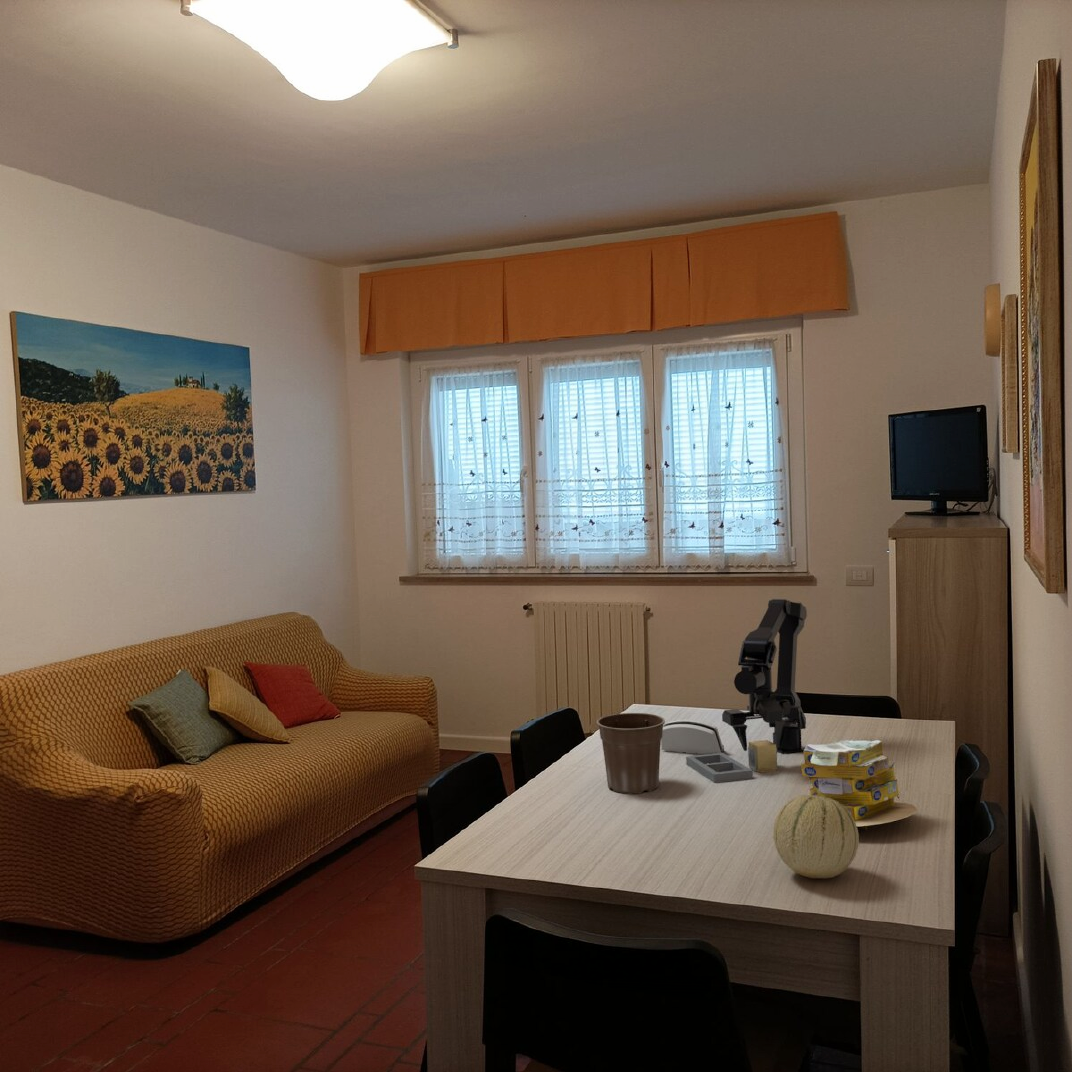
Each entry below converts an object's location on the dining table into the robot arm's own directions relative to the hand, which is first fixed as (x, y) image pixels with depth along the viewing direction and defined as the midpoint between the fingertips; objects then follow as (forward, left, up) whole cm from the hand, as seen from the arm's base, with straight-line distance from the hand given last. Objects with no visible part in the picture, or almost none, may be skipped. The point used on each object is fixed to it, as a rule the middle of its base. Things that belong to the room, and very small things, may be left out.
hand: (762, 748), depth 255 cm
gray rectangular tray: (+11, -2, -5) cm, 12 cm away
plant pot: (+35, +3, -5) cm, 36 cm away
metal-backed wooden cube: (0, 0, -5) cm, 5 cm away
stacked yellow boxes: (+1, +44, -5) cm, 44 cm away
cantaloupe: (+22, +68, -5) cm, 72 cm away
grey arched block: (+10, -22, -5) cm, 25 cm away
